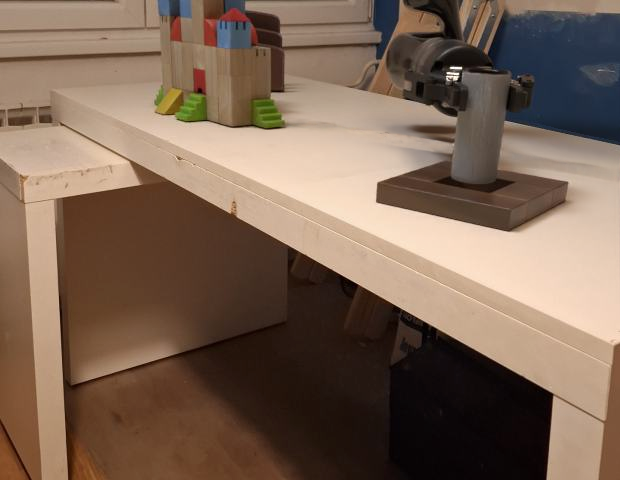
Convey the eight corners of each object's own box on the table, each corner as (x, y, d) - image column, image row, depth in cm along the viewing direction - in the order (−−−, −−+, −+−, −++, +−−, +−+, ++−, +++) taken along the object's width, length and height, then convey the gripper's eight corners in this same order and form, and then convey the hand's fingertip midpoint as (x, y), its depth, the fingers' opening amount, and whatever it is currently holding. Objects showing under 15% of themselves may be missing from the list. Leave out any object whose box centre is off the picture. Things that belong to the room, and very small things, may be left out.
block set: (303, 125, 113) (307, -17, 105) (222, 133, 105) (219, -20, 97) (207, 100, 133) (204, -21, 125) (133, 105, 125) (124, -24, 117)
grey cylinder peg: (441, 177, 76) (453, 69, 71) (467, 171, 79) (480, 66, 74) (479, 187, 73) (494, 75, 68) (504, 179, 76) (521, 72, 71)
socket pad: (443, 177, 86) (445, 159, 85) (565, 200, 78) (568, 181, 77) (375, 201, 75) (376, 182, 75) (508, 231, 68) (511, 209, 67)
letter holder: (181, 84, 151) (177, 7, 145) (279, 85, 154) (280, 10, 148) (180, 91, 142) (176, 9, 136) (284, 92, 145) (285, 12, 139)
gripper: (392, 38, 83) (419, 55, 68) (520, 43, 84) (574, 60, 69) (387, 109, 86) (411, 139, 71) (509, 112, 87) (559, 143, 72)
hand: (491, 100), depth 70 cm, fingers closed on grey cylinder peg, 4 cm apart
